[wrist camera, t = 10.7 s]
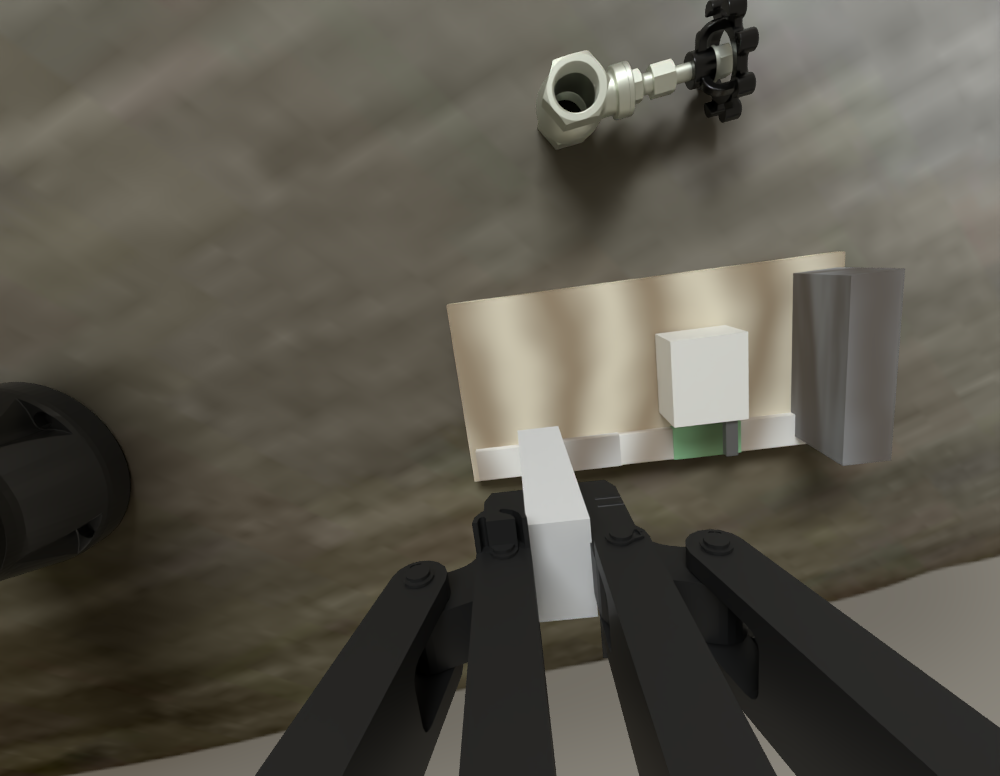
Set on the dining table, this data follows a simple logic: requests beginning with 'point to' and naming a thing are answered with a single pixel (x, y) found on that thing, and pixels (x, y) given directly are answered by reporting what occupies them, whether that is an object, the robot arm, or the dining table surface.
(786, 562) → the dining table surface
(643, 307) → the board
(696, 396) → the white rectangular block
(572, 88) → the valve
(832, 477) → the dining table surface
